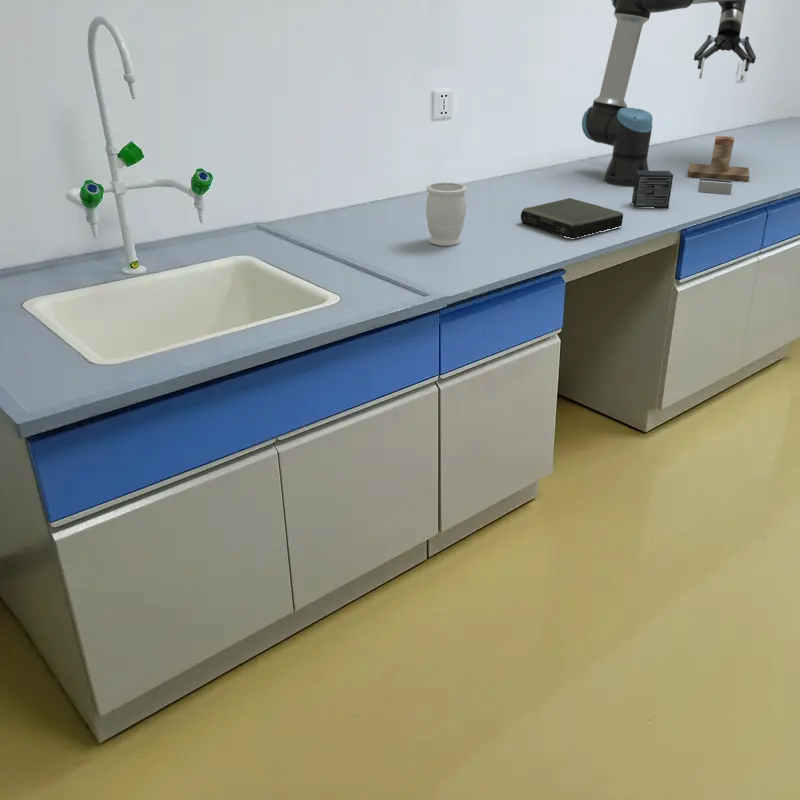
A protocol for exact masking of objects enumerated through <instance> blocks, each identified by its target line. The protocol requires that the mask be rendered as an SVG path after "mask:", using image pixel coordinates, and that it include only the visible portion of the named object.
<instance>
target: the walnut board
mask: <svg viewBox="0 0 800 800" xmlns="http://www.w3.org/2000/svg"><path fill="white" fill-rule="evenodd" d="M710 166H711V164H702V163H689V167H688V174H687V178H688V177H692V178H691V179H700V178H709V179H722V180H732V182H739V181H743V183H749V179H750V171H749V167H744V166H743V167H741V166H731V165H729V169H728V172H722V171H710Z"/></svg>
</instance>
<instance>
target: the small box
mask: <svg viewBox="0 0 800 800" xmlns="http://www.w3.org/2000/svg"><path fill="white" fill-rule="evenodd" d="M673 179H674V174H673V173H672V172H671V171H670V170H649V171H643V170H636V173H635V181H634V186H633V188H632V190H633V191H632V199H631V204H632V203H633V205H634V206H633V205H632V206H633V208H634V207H654V208H653V209H662V208H668V209H669V208H670V199H671V192H672V186H673Z"/></svg>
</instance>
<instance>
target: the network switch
mask: <svg viewBox="0 0 800 800" xmlns="http://www.w3.org/2000/svg"><path fill="white" fill-rule="evenodd" d="M623 218H624V213H623V212H621V211H618V210H614V209H611V208H608V207H604V206H600V205H597V204H593V203H589V202H586V201H582V200H579V199H574V198H572V197H570V198H569V197H568V198H564V199H560V200H556V201H555V200H554V201H551V202H547V203H543V204H542V203H541V204H538V205H533V206H530V207H524V208H523V209H522V211H521V212H520V220H521V223H522V224H523V225H525V224H526V226H528V225H529V227H532V226H533V227H532V228H536V229H540V230H543V231H547V232H550V233H553V234H555V235H558V234H559V236H561V235H562V236H566V237H570V238H577V237H581V236H584V235H588V234H592V233H596V232H599V231H604V230H607V229H612V228H615V227H619V226H622V225H623V220H624V219H623ZM562 236H561V237H562Z"/></svg>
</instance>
